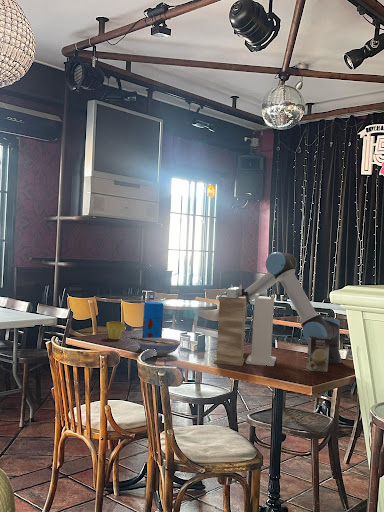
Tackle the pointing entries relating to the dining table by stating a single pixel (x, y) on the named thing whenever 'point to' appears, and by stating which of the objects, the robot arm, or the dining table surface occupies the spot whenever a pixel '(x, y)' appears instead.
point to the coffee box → (318, 353)
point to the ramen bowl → (158, 345)
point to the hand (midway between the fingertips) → (235, 286)
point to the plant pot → (115, 329)
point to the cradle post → (262, 332)
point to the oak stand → (231, 331)
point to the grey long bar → (233, 292)
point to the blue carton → (152, 320)
